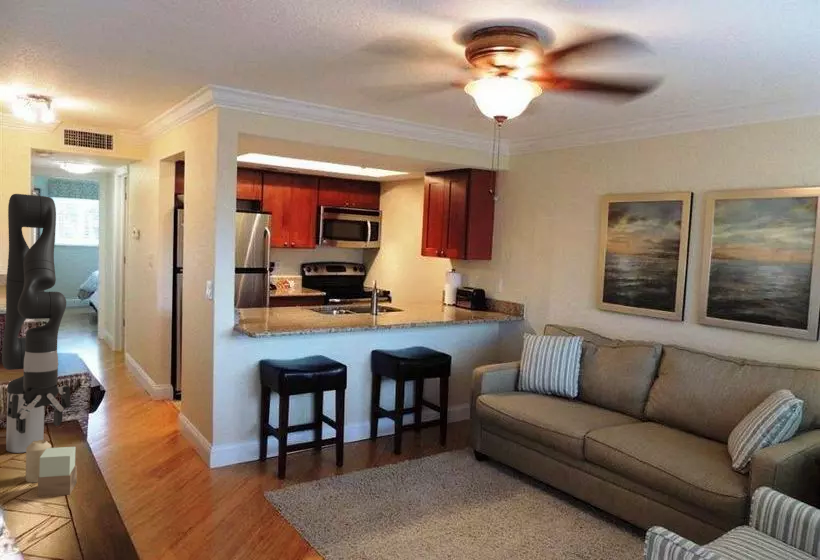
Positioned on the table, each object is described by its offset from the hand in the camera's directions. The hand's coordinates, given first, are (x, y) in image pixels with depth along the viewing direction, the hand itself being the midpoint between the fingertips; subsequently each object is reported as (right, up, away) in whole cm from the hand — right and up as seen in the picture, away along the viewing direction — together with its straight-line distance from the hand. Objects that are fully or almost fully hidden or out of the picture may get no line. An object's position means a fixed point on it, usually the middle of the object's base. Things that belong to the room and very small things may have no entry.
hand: (39, 428), depth 150 cm
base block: (+8, -14, -5) cm, 17 cm away
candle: (-1, -14, +1) cm, 14 cm away
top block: (+8, -9, -5) cm, 13 cm away
